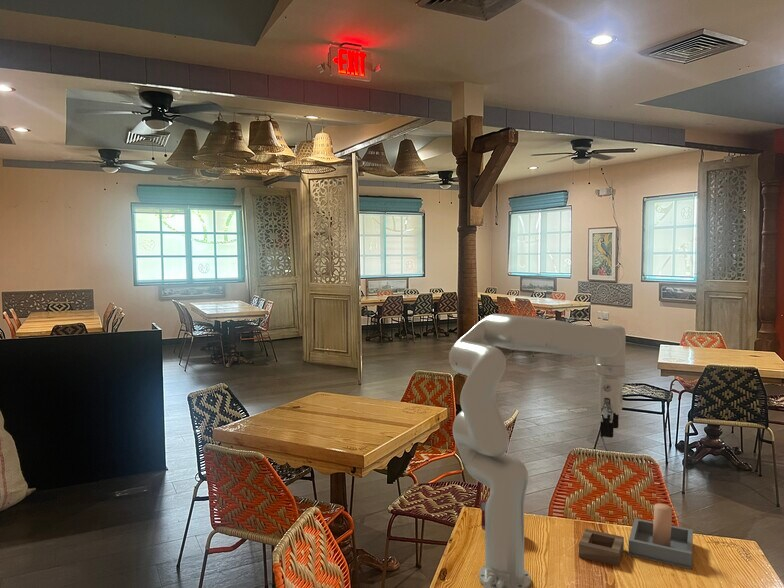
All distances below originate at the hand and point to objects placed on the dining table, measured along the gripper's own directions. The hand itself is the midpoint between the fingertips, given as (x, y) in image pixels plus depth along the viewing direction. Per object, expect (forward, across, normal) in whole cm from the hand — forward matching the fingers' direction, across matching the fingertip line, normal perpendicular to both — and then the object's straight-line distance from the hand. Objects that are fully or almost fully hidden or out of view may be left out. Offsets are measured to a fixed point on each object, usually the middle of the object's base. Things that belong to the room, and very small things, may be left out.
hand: (609, 432), depth 152 cm
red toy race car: (+32, -8, +28) cm, 44 cm away
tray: (+32, +5, -13) cm, 35 cm away
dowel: (+31, +5, -13) cm, 34 cm away
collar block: (+32, -5, +1) cm, 32 cm away
